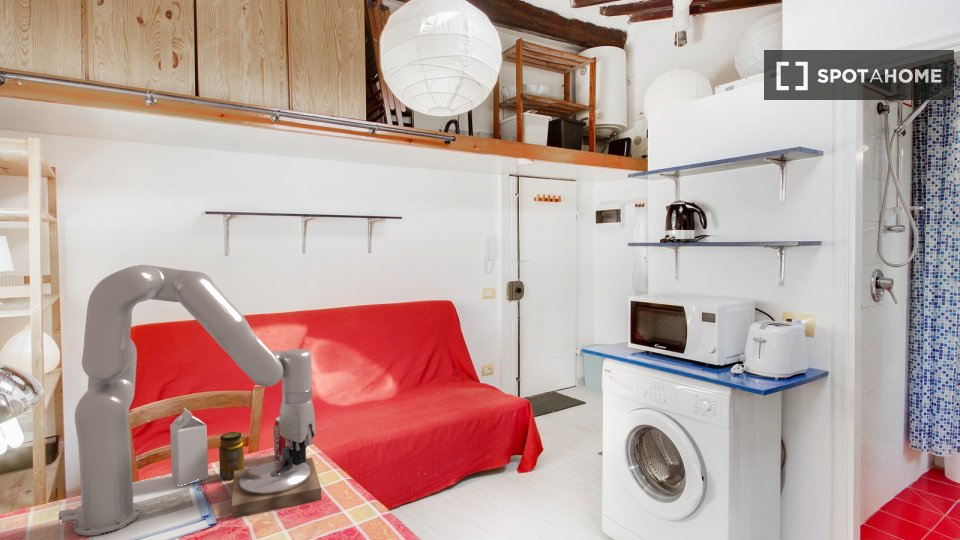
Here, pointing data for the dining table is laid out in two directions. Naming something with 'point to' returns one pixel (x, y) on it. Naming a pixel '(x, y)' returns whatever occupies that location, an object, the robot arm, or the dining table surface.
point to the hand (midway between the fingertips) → (299, 462)
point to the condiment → (230, 455)
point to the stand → (274, 495)
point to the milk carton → (188, 449)
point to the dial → (275, 476)
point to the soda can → (279, 441)
